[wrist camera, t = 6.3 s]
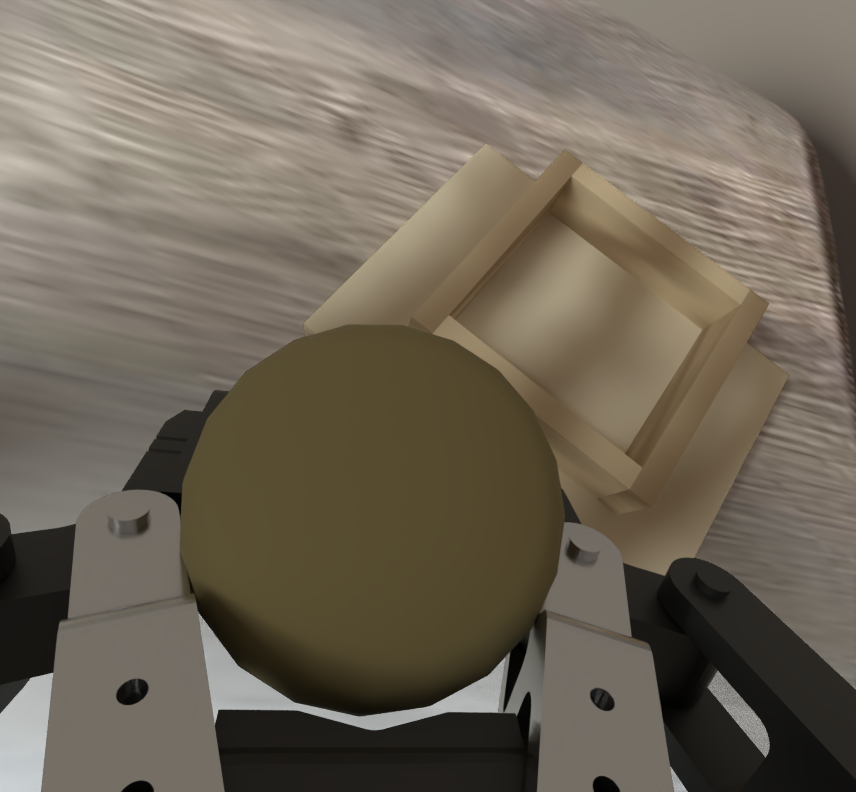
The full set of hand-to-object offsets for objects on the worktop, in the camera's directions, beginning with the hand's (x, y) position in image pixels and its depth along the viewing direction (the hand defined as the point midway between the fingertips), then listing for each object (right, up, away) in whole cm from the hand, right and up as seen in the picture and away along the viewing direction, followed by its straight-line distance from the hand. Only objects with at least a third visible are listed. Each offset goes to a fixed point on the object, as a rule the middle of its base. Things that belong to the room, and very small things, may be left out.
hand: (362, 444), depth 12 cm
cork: (-1, -3, +4) cm, 6 cm away
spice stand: (+7, +3, +12) cm, 15 cm away
